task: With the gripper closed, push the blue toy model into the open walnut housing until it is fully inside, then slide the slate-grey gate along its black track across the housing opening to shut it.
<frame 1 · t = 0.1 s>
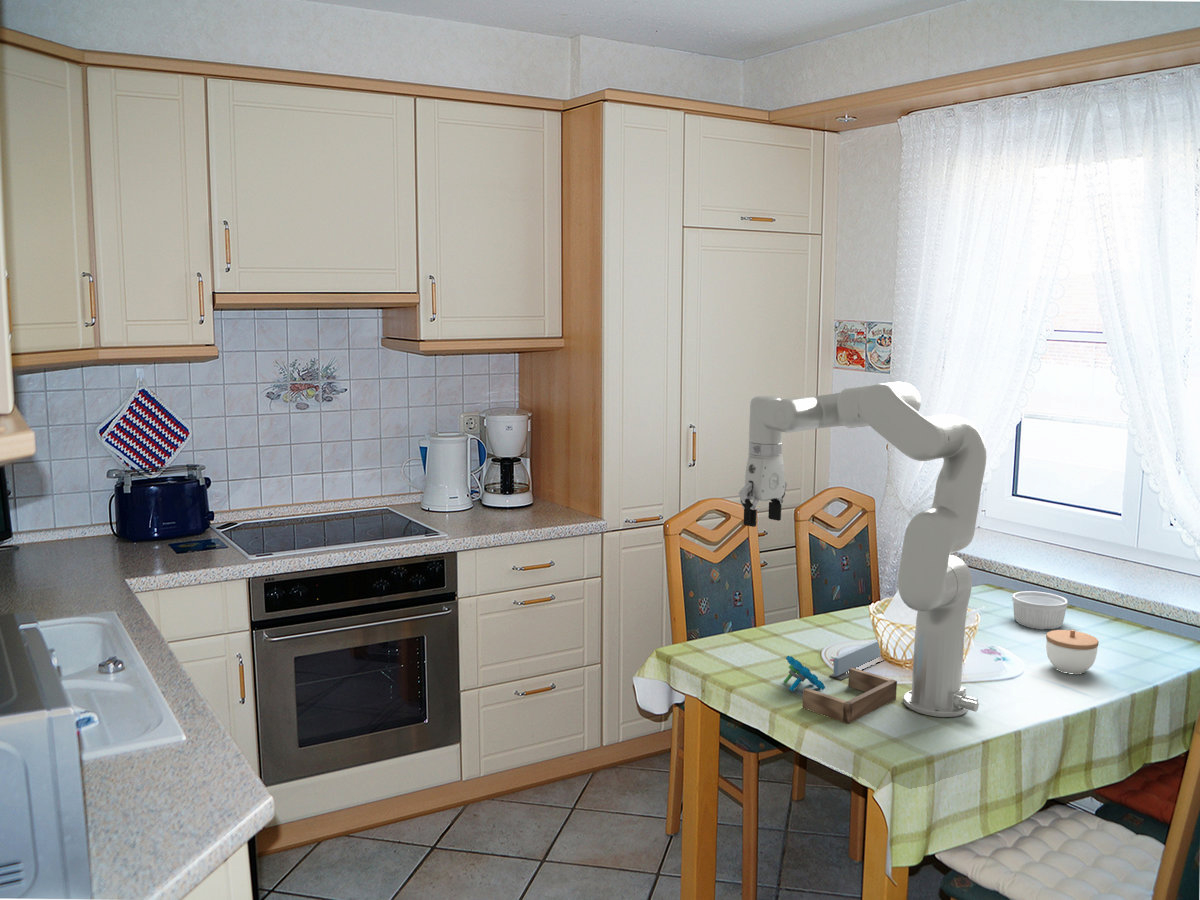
hand: (762, 522, 234), 31 cm above the table, tool pointing down, fingers open, 9 cm apart
blue toy model: (803, 689, 216), on the table
housing: (844, 701, 209), on the table
lidded jar: (1069, 670, 229), on the table
gate: (857, 657, 228), point 3 cm above the table, slide at 19.0 cm
ramekin: (1037, 624, 262), on the table
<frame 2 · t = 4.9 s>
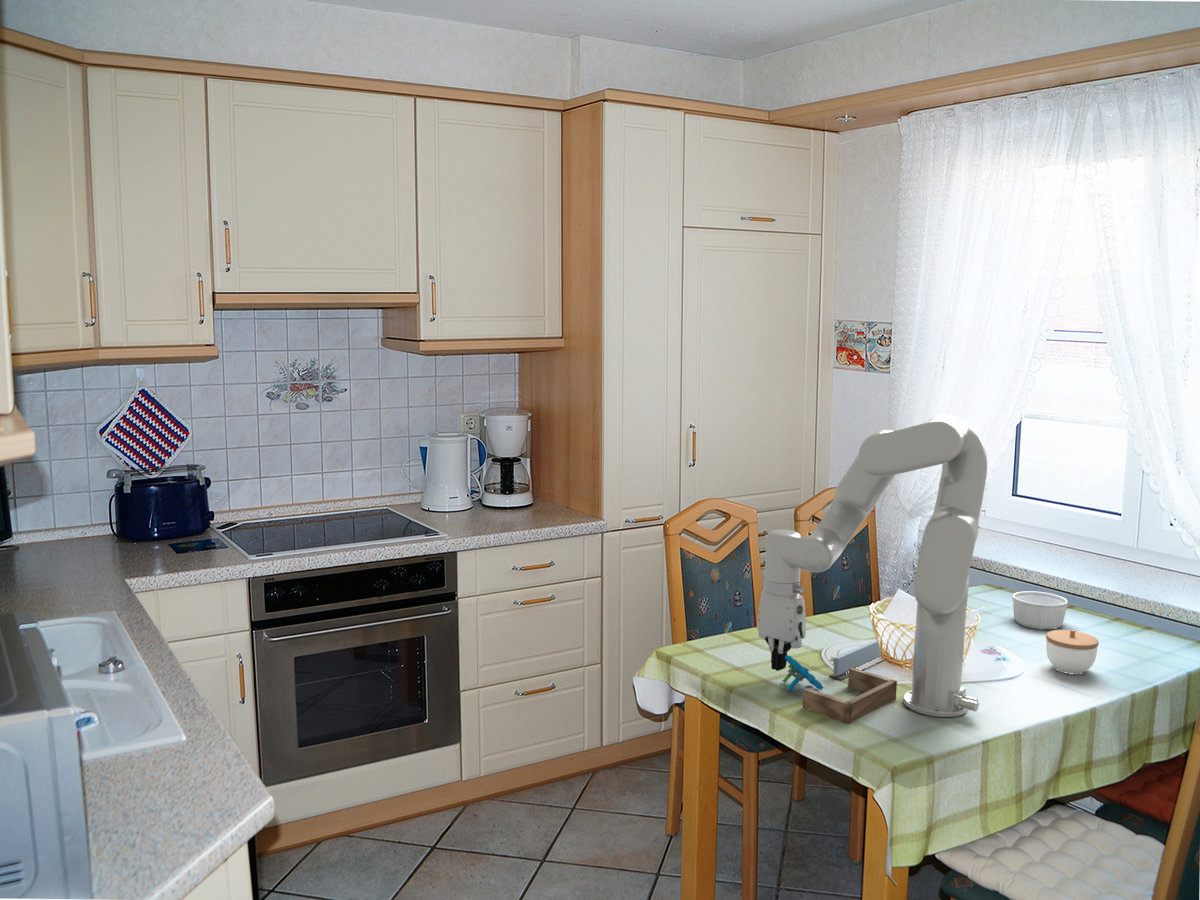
hand: (778, 668, 220), 3 cm above the table, tool pointing down, fingers closed
blue toy model: (801, 689, 216), on the table, touching gripper
everything else where it was.
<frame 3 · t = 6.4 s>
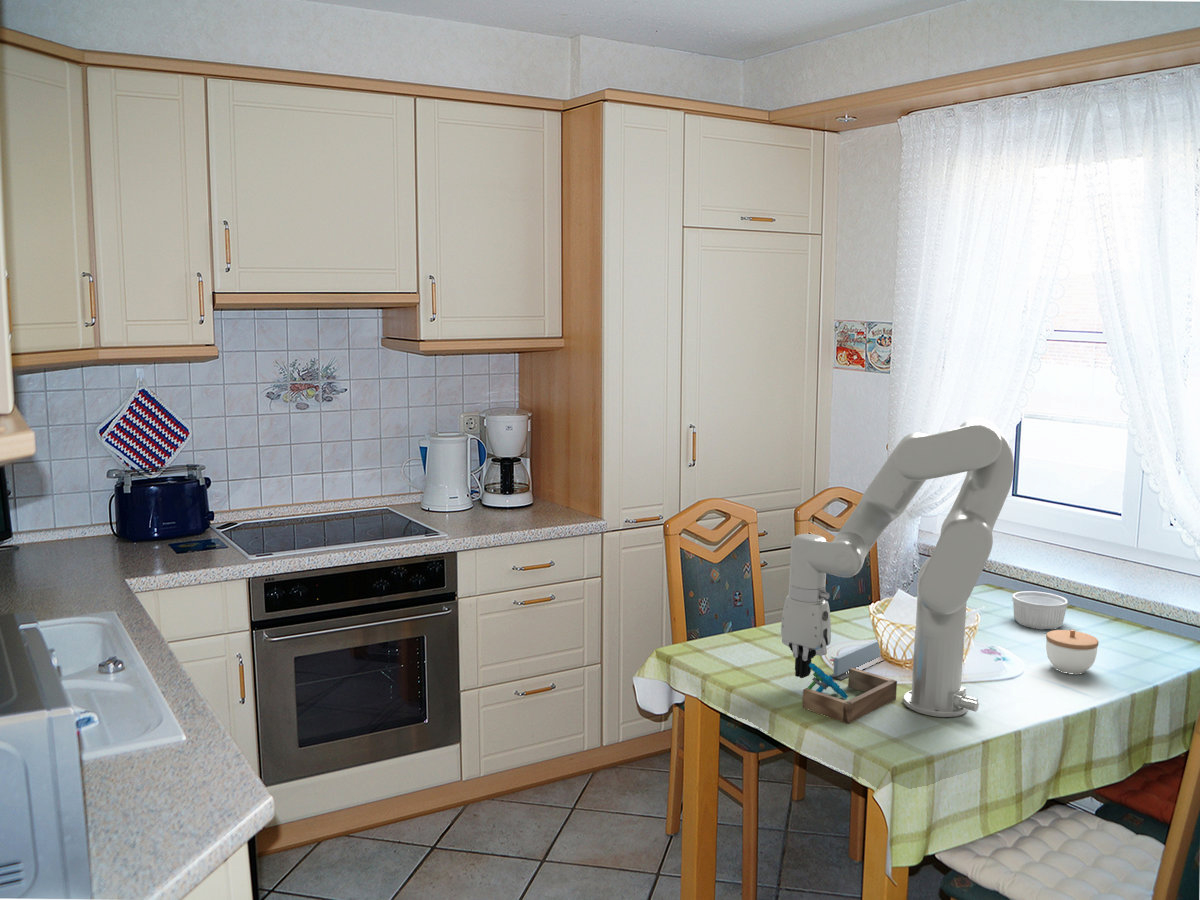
hand: (802, 675, 216), 3 cm above the table, tool pointing down, fingers closed
blue toy model: (826, 698, 211), on the table, touching gripper
everything else where it was.
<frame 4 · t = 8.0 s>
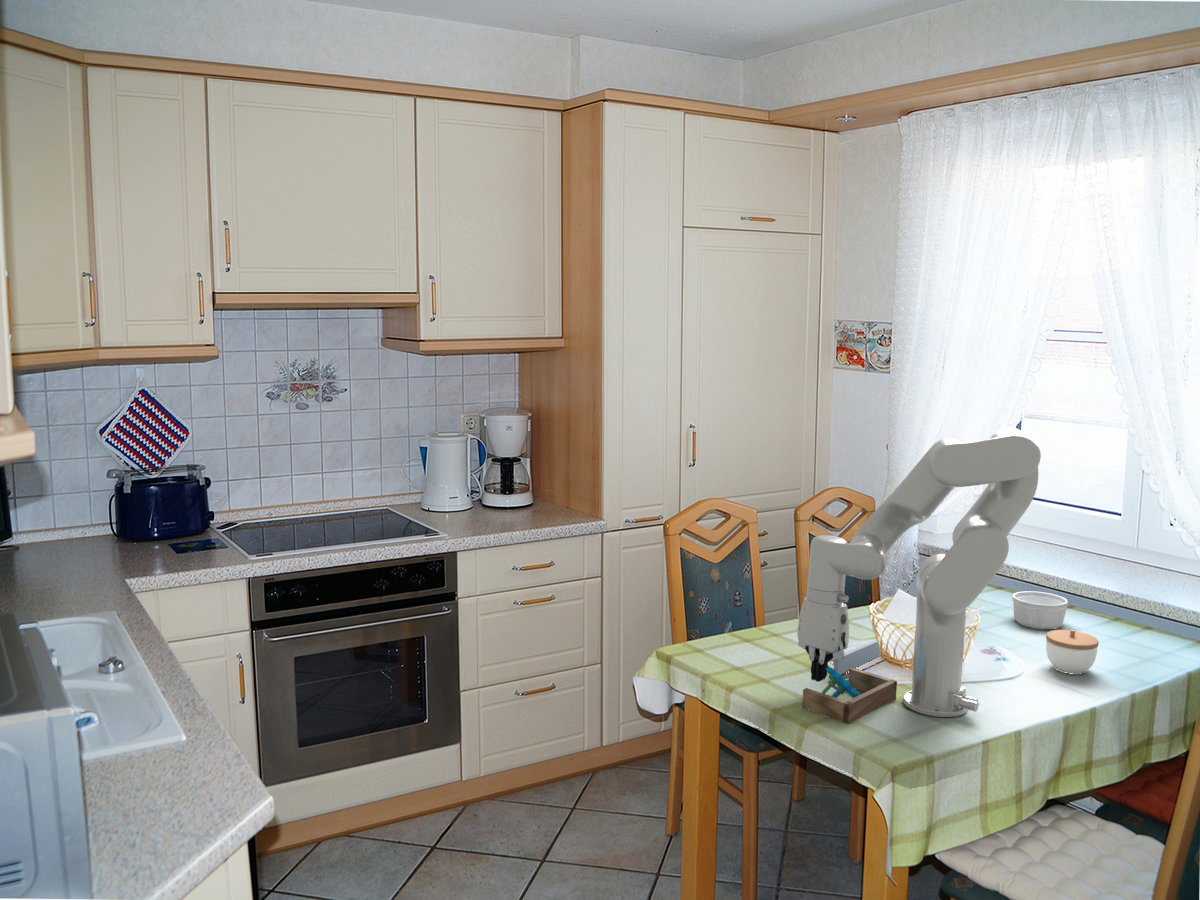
hand: (818, 679, 212), 3 cm above the table, tool pointing down, fingers closed
blue toy model: (841, 702, 208), touching gripper, housing
everything else where it was.
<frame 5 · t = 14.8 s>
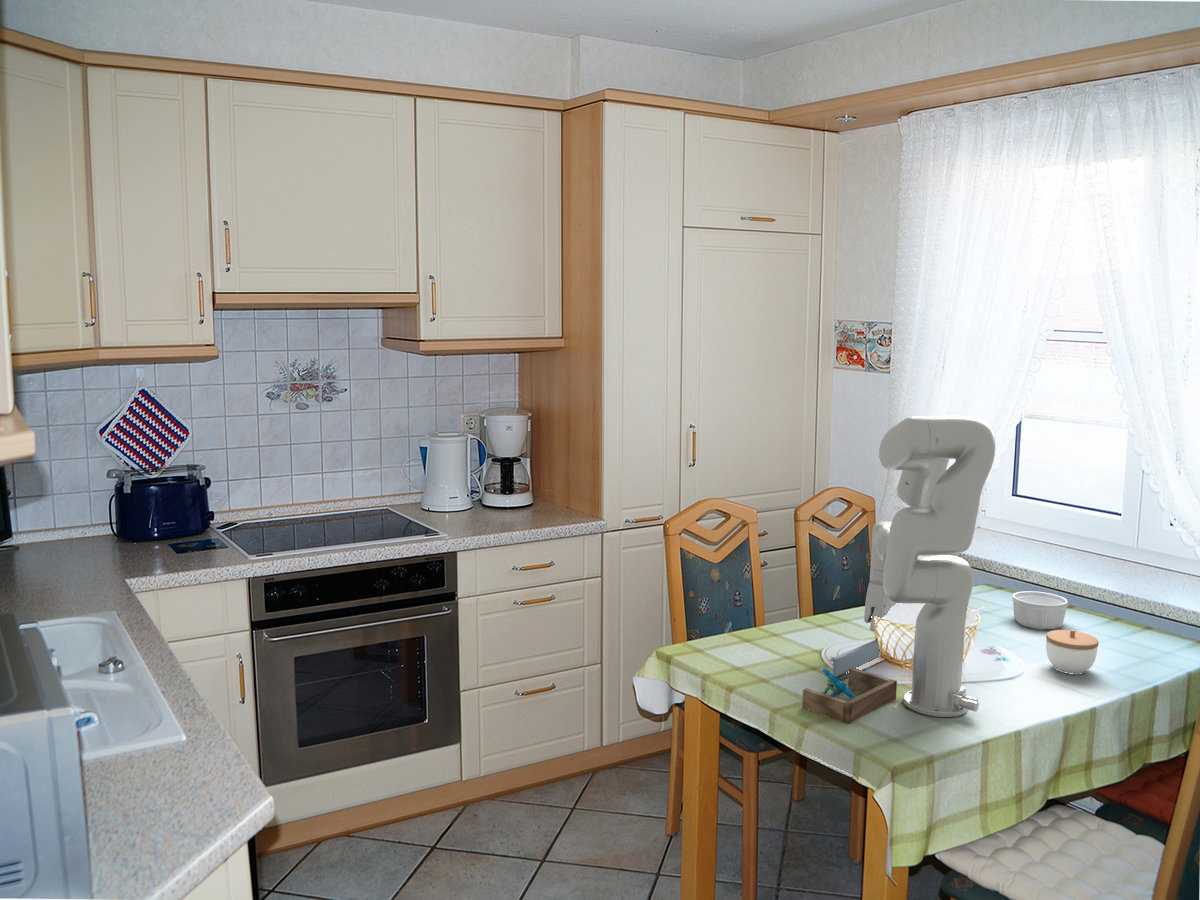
hand: (882, 651, 235), 1 cm above the table, tool pointing down, fingers closed
blue toy model: (839, 704, 208), on the table
gate: (856, 657, 227), point 3 cm above the table, slide at 18.6 cm, touching gripper
everything else where it was.
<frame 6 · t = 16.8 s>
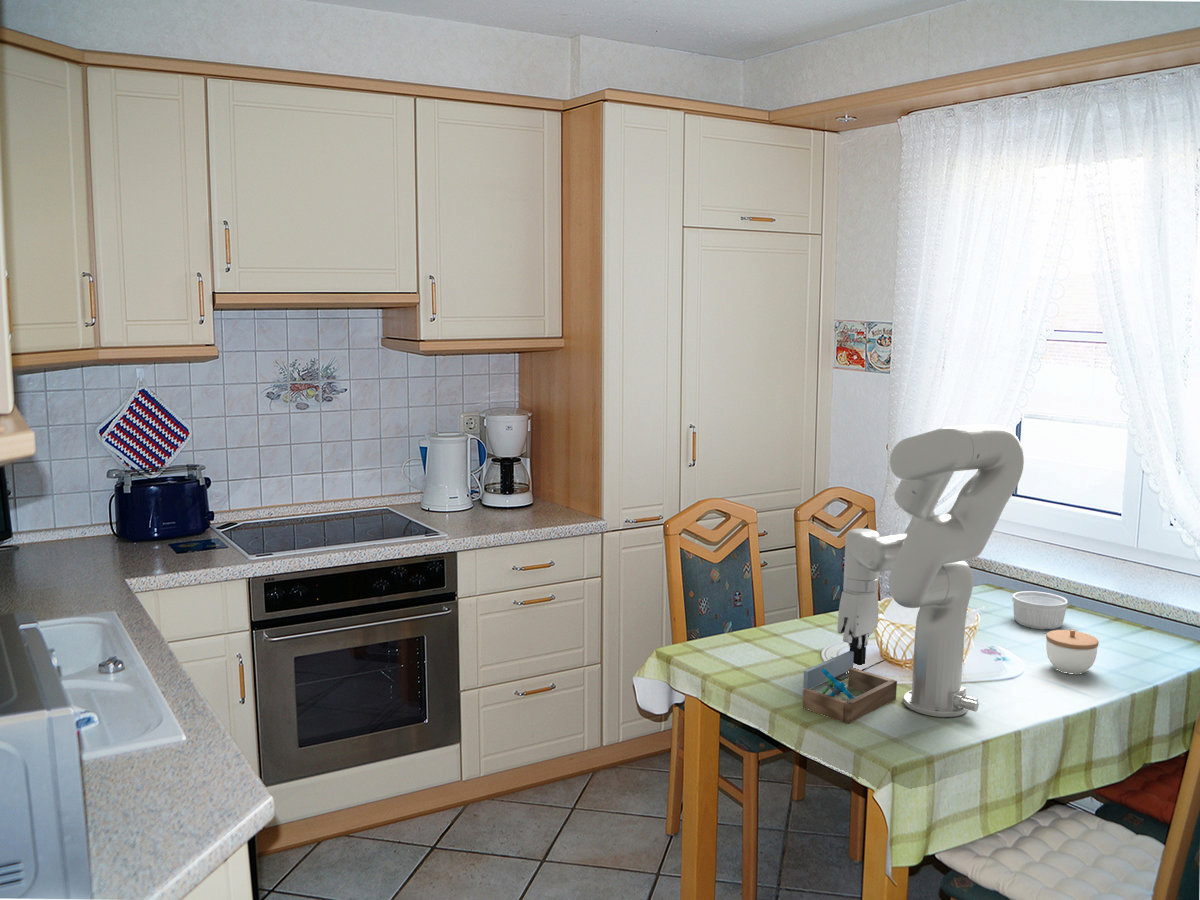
hand: (857, 662, 228), 1 cm above the table, tool pointing down, fingers closed
gate: (829, 669, 220), point 3 cm above the table, slide at 7.4 cm, touching gripper
everything else where it was.
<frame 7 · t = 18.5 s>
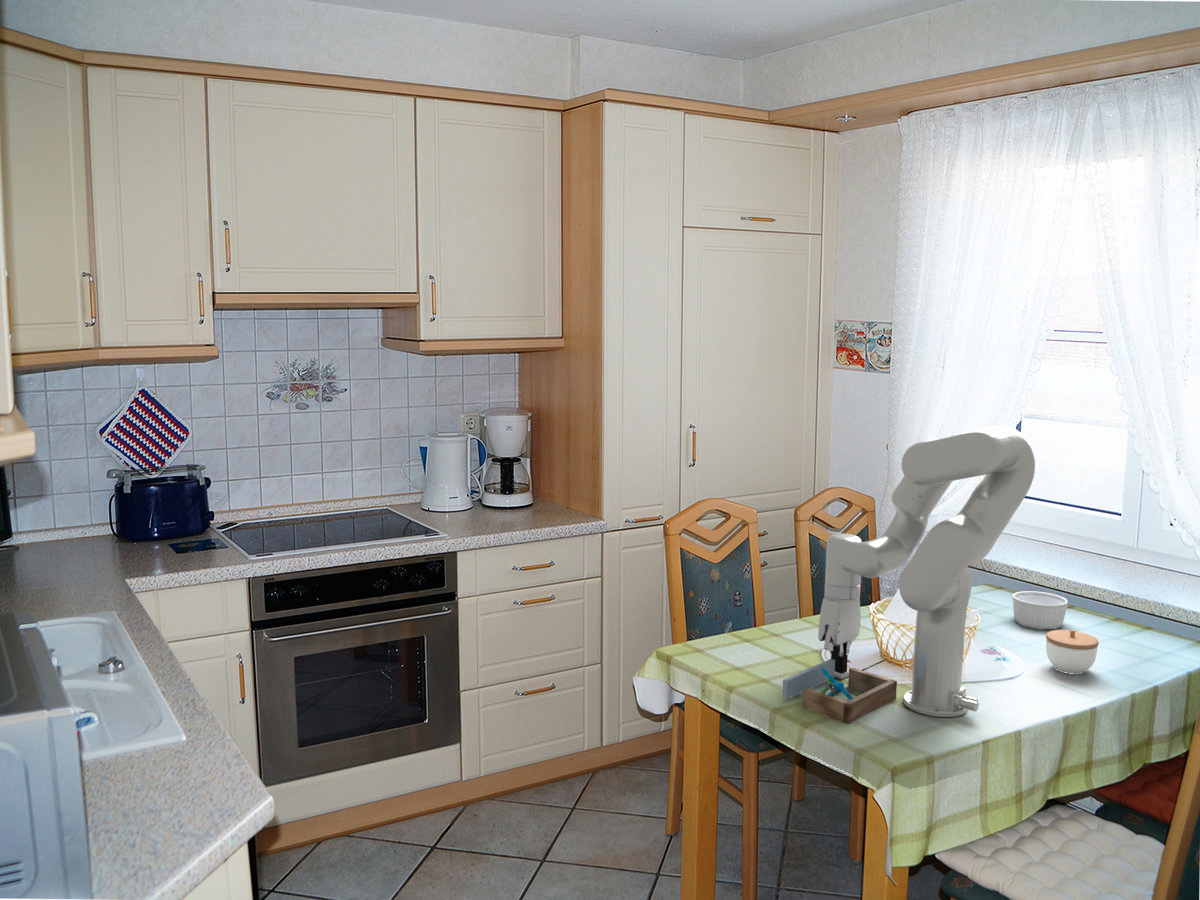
hand: (838, 671, 222), 1 cm above the table, tool pointing down, fingers closed
gate: (809, 678, 214), point 3 cm above the table, slide at -0.2 cm, touching gripper
everything else where it was.
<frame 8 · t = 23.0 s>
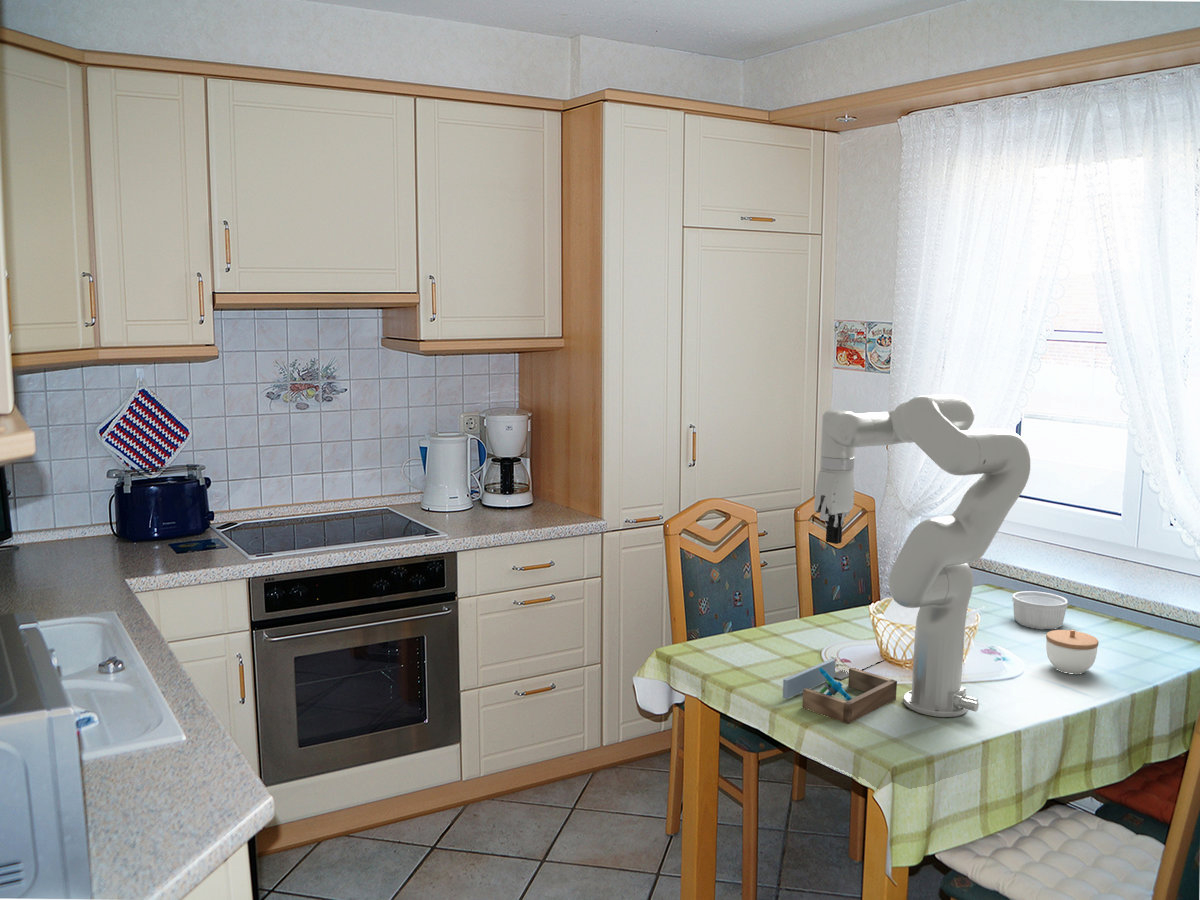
hand: (833, 542, 233), 27 cm above the table, tool pointing down, fingers closed
gate: (809, 678, 214), point 3 cm above the table, slide at 0.0 cm
everything else where it was.
at the end: blue toy model 2.3 cm off-centre on the housing, point 0.0 cm above the housing's base; gate slide at 0.0 cm; blue toy model tilted 0° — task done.
